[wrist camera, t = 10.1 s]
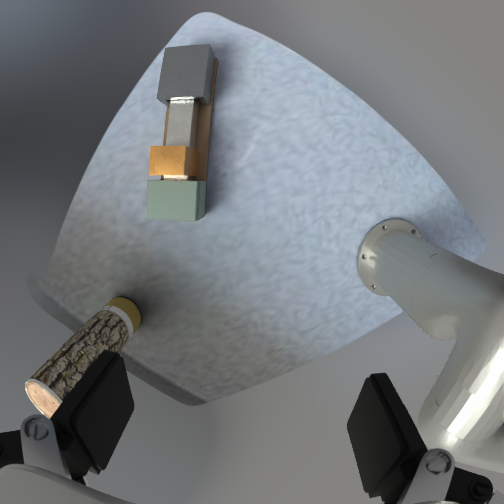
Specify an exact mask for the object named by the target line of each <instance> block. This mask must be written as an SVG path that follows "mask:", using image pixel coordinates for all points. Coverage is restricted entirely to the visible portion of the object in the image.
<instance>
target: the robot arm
mask: <svg viewBox="0 0 504 504" xmlns="http://www.w3.org/2000/svg"><path fill="white" fill-rule="evenodd" d="M383 226H384V228H382V227H383ZM411 231H412V232H411ZM362 255H363V257H362ZM357 268H358V273H359V276H360V278H361V280H362V282H363V283H364V285H365V286H366V287H367V288H368V289H369V290H370V291H372V292H373V293H375V294H377V295H381V296H390V297H391V298H392V299H393V300H394V301H395V302H396V303H397V304H398V305H399V306H400V307H401V308H402V309H403V311H404V312H405V313H406V314H407V315H408V316H409V317H410V318H411V319H412V320H413V321H414V322H415V323H416V324H417V325H418V326H419V327H420V328H421V329H422V330H423V331H424V332H425V333H426V334H427V335H429V336H431V337H433V338H435V339H439V340H452V339H456V342H455V345H454V347H453V349H452V351H451V354H450V355H449V358H448V360H447V362H446V364H445V366H444V368H443V370H442V372H441V373H440V375H439V377H438V379H437V381H436V382H435V384H434V386H433V387H432V389H431V391H430V393H429V394H428V396H427V398H426V399H425V401H424V403H423V405H422V407H421V409H420V411H419V415H418V420H417V425H418V430H417V428H416V426H415V424H414V422H413V420H412V418H411V416H410V415H409V413H408V411H407V409H406V407H405V405H404V404H403V403H402V401H401V399H400V397H399V395H398V393H397V392H396V390H395V388H394V386H393V384H392V382H391V381H390V379H389V377H388V376H387V374H386V373H375V374H371V375H370V377H369V378H366V380H365V382H364V384H363V387H362V390H361V392H360V394H359V397H358V399H357V402H356V404H355V406H354V409H353V411H352V413H351V415H350V418H349V420H348V423H347V430H348V433H349V437H350V440H351V444H352V447H353V451H354V454H355V458H356V462H357V466H358V469H359V473H360V477H361V481H362V484H363V488H364V491H365V492H366V493H369V497H370V498H372V497H377V496H381V498H382V501H383V502H382V503H381V504H504V495H503V494H501V493H500V492H498V491H495V492H493V486H492V483H491V481H490V480H489V479H488V478H486V477H484V476H481V475H478V474H475V473H472V472H469V471H466V470H463V469H460V468H457V467H455V461H458V462H461V463H464V464H468V465H471V466H475V467H479V468H483V469H487V470H491V471H495V472H499V473H504V274H501V273H498V272H495V271H492V270H489V269H487V268H484V267H482V266H479V265H477V264H475V263H473V262H471V261H469V260H467V259H465V258H463V257H460V256H458V255H456V254H454V253H452V252H450V251H448V250H446V249H444V248H441V247H439V246H437V245H435V244H433V243H430V242H428V241H426V240H424V239H423V238H422V236H421V234H420V232H419V231H418V229H417V228H416V227H414V226H413V225H412V224H410V223H409V222H406V221H404V220H399V219H389V220H386V221H382V222H381V223H379V224H377V225H376V226H374V227H373V228H372V229H371V230H370V231H369V232H368V233H367V234H366V236H365V237H364V239H363V241H362V242H361V245H360V248H359V251H358V256H357ZM372 285H373V286H372ZM133 411H134V401H133V397H132V393H131V390H130V386H129V382H128V377H127V373H126V368H125V364H124V359H123V358H122V357H120V354H119V353H117V352H113V351H109V350H104V351H103V352H102V353H101V354H100V355H99V357H98V358H97V359H96V360H95V362H94V363H93V364H92V365H91V366H90V368H89V369H88V370H87V371H86V373H85V374H84V375H83V376H82V378H81V379H80V380H79V381H78V382H77V384H76V385H75V386H74V387H73V389H72V390H71V391H70V393H69V394H68V395H67V396H66V398H65V399H64V400H63V402H62V403H61V404H60V406H59V407H58V408H57V410H56V411H55V412H54V414H53V415H52V416H51V418H50V419H49V418H48V417H46V416H44V415H40V414H37V415H36V414H35V415H31V416H29V417H27V418H26V419H25V420H24V421H23V422H22V424H21V429H20V430H16V431H10V432H3V433H0V504H134V503H131V502H128V501H125V500H122V499H119V498H116V497H113V496H110V495H108V494H105V493H102V492H100V491H97V490H94V489H92V488H90V487H89V484H88V481H87V479H86V474H87V472H88V471H90V472H93V473H95V474H98V475H99V473H100V471H101V470H104V469H105V468H106V467H107V464H108V462H109V460H110V458H111V456H112V454H113V452H114V450H115V448H116V445H117V443H118V441H119V439H120V437H121V435H122V433H123V431H124V429H125V427H126V425H127V423H128V421H129V419H130V417H131V415H132V413H133ZM418 431H419V432H418ZM422 439H423V440H422ZM423 441H424V442H425V443H426V444H427V445H428V446H429V447H430V448H431V450H427V448H426V446H425V444H424V442H423ZM454 460H455V461H454Z"/></svg>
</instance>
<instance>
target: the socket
mask: <svg viewBox="0 0 504 504" xmlns="http://www.w3.org/2000/svg"><path fill="white" fill-rule="evenodd" d="M205 196H206V181H172V180H148V183H147V219H160V220H177V221H193V222H195V221H197V220H200V219H201V218H203V217H204V215H205Z"/></svg>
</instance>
